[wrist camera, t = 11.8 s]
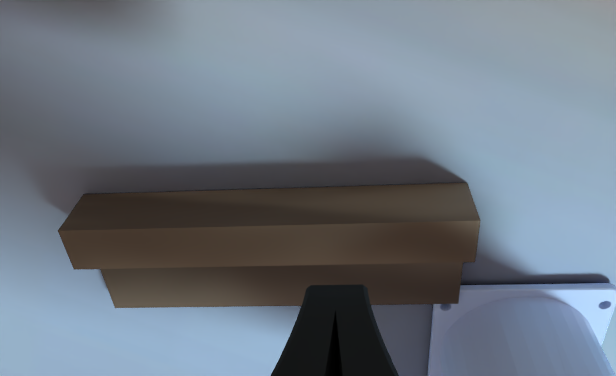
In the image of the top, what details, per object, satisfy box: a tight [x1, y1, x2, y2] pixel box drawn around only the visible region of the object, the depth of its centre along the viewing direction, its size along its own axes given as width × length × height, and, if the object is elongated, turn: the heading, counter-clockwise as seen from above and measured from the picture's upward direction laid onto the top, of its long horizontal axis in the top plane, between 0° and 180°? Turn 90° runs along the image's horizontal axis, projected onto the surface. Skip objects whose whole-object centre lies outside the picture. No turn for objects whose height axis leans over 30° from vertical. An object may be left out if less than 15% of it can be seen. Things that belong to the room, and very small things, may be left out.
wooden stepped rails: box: [58, 183, 480, 308], centre depth 19 cm, size 21×16×2 cm
